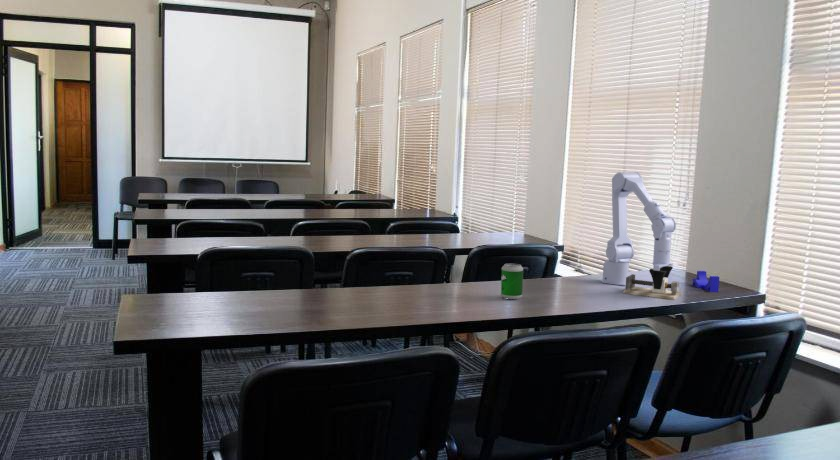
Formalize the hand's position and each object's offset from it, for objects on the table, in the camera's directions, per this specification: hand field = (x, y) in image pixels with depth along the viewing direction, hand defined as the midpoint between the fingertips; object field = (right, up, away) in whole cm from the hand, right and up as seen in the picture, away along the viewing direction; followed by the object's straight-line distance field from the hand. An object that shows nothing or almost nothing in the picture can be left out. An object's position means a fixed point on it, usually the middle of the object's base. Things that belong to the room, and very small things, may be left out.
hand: (660, 287), depth 239 cm
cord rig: (-2, -3, +2) cm, 4 cm away
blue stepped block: (+22, -2, +13) cm, 25 cm away
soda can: (-55, -4, -7) cm, 56 cm away
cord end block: (0, -2, 0) cm, 2 cm away
